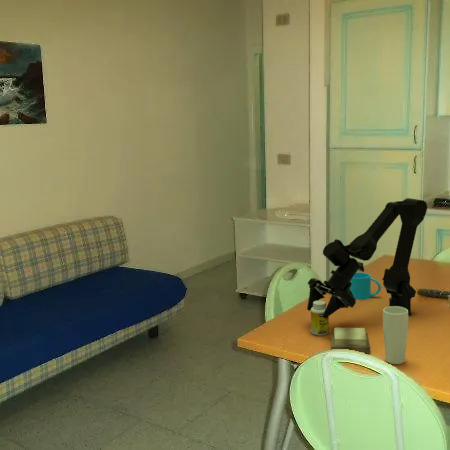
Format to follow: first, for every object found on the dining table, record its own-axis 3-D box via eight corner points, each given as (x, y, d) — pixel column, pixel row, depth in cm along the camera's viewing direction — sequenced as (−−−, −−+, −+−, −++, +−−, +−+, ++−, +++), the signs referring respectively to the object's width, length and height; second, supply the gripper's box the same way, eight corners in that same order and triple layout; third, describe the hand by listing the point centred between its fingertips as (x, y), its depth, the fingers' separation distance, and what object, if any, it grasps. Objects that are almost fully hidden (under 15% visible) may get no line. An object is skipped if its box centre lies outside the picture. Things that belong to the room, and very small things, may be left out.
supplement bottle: (319, 337, 183) (318, 306, 181) (307, 332, 187) (306, 302, 185) (332, 333, 186) (332, 302, 184) (320, 328, 190) (319, 298, 188)
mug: (346, 298, 218) (345, 277, 217) (351, 292, 225) (351, 271, 224) (378, 301, 213) (378, 280, 211) (382, 294, 220) (383, 274, 219)
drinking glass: (379, 357, 166) (379, 306, 163) (402, 355, 167) (402, 305, 164) (387, 367, 160) (387, 315, 157) (411, 365, 160) (412, 313, 157)
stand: (367, 339, 179) (367, 326, 179) (370, 353, 169) (370, 340, 168) (331, 338, 181) (331, 326, 181) (331, 353, 171) (331, 340, 170)
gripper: (377, 295, 182) (349, 336, 180) (340, 281, 199) (313, 318, 196) (357, 275, 178) (328, 317, 175) (320, 262, 194) (293, 300, 191)
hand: (315, 313), depth 184 cm, fingers open, 8 cm apart
